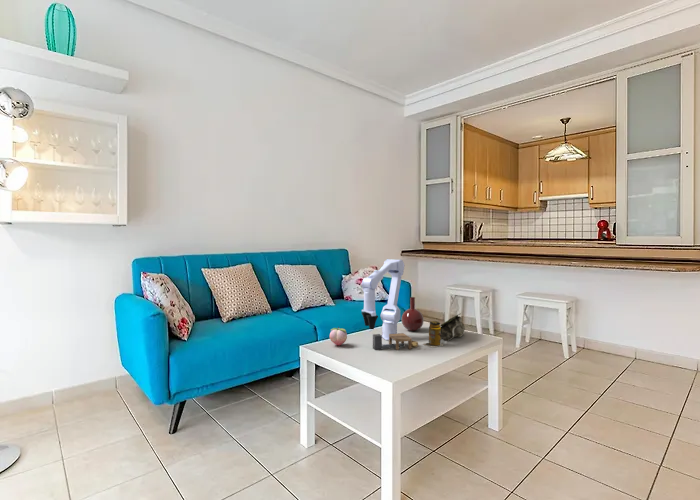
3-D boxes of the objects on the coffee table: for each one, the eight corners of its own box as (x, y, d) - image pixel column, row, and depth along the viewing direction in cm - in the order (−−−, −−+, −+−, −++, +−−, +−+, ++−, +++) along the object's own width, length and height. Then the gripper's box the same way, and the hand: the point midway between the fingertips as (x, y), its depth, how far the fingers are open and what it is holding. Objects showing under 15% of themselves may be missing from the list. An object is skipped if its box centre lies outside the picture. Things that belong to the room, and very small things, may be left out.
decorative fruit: (349, 343, 203) (349, 325, 203) (345, 348, 195) (344, 328, 195) (332, 342, 206) (332, 324, 205) (327, 346, 198) (327, 327, 198)
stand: (388, 344, 202) (388, 334, 202) (403, 343, 204) (403, 333, 204) (396, 350, 192) (396, 339, 192) (411, 349, 194) (411, 338, 194)
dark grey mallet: (372, 348, 196) (372, 334, 195) (402, 345, 200) (402, 332, 200) (375, 350, 192) (374, 336, 192) (405, 347, 196) (405, 334, 196)
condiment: (444, 345, 200) (444, 322, 200) (432, 347, 196) (432, 324, 195) (433, 342, 207) (434, 319, 206) (422, 344, 202) (422, 321, 201)
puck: (406, 345, 201) (406, 341, 201) (415, 344, 202) (415, 340, 202) (410, 348, 196) (410, 343, 196) (419, 347, 198) (419, 343, 198)
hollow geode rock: (442, 352, 204) (461, 334, 198) (425, 333, 209) (444, 315, 203) (460, 338, 227) (477, 322, 221) (445, 322, 232) (461, 306, 225)
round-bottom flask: (412, 327, 241) (412, 295, 240) (428, 331, 230) (428, 297, 229) (397, 330, 233) (397, 297, 233) (412, 334, 222) (412, 300, 222)
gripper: (358, 299, 204) (358, 324, 204) (366, 303, 190) (366, 331, 190) (370, 298, 206) (370, 323, 206) (379, 303, 192) (379, 330, 192)
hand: (369, 327), depth 198 cm, fingers open, 7 cm apart
